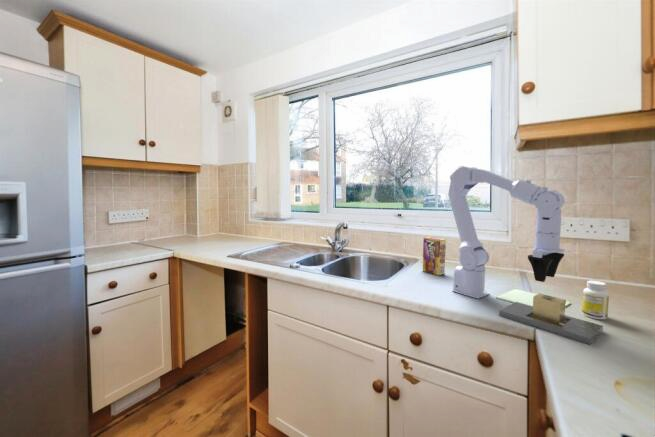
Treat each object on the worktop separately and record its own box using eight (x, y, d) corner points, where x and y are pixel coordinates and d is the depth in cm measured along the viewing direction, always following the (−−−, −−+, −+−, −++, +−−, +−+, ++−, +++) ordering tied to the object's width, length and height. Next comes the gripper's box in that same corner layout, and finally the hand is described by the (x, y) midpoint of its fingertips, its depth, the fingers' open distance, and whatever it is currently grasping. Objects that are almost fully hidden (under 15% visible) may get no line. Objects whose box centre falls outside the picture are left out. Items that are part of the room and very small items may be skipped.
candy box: (445, 274, 126) (446, 239, 125) (438, 275, 124) (440, 240, 122) (428, 269, 133) (429, 236, 132) (422, 271, 131) (422, 237, 130)
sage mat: (496, 298, 98) (496, 296, 98) (515, 289, 106) (515, 288, 106) (554, 314, 85) (554, 313, 85) (570, 303, 93) (570, 302, 93)
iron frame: (499, 315, 84) (499, 310, 84) (516, 306, 91) (516, 301, 90) (589, 344, 68) (590, 338, 68) (602, 331, 74) (603, 325, 74)
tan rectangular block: (531, 321, 81) (533, 296, 80) (537, 317, 83) (539, 293, 82) (558, 329, 76) (560, 303, 75) (563, 325, 78) (565, 299, 77)
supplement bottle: (594, 311, 86) (597, 279, 85) (612, 319, 81) (615, 285, 80) (576, 312, 86) (579, 279, 85) (593, 320, 81) (596, 285, 80)
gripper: (555, 236, 77) (552, 286, 78) (573, 232, 86) (569, 277, 87) (525, 233, 83) (522, 280, 84) (544, 229, 91) (541, 272, 92)
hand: (544, 278), depth 86 cm, fingers open, 7 cm apart
